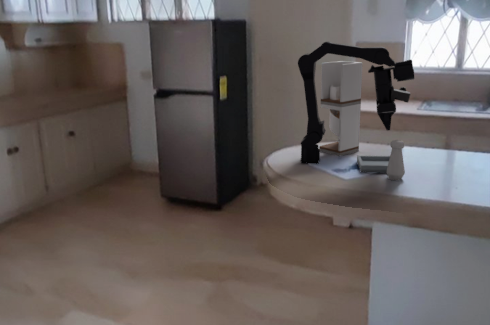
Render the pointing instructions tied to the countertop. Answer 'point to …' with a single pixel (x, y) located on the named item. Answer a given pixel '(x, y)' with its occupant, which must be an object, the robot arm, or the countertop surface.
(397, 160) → the salt shaker
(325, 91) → the display case
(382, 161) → the tray
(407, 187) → the countertop surface
